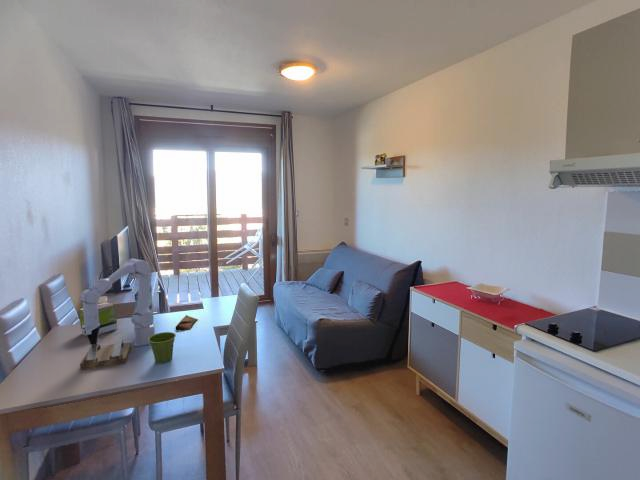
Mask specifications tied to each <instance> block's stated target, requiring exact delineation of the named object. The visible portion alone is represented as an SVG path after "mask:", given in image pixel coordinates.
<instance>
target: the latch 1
mask: <svg viewBox="0 0 640 480" xmlns="http://www.w3.org/2000/svg"><path fill="white" fill-rule="evenodd" d="M99 342H100V337H98V338H97V343H96V344H93V345H91V344H90V346H89V349H88V350H89V353H88V357H87V361H94V360H95V357H96V353H97V348H98V345H99V344H100V343H99Z"/></svg>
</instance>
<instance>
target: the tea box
mask: <svg viewBox="0 0 640 480" xmlns="http://www.w3.org/2000/svg"><path fill="white" fill-rule="evenodd" d="M97 305H98V315H99V323H100V326H99V327H100V330H99V333H98V336H99V335H101V334H105V333H108V332H111V331H114V330H117V329H118V323H117V321H118V320H117V314H116V313H117V312H116V305H115V304H113V303H111V302H107V301H105V302H102V303H101V302H100V303H97ZM78 314H79V321H80V322H79V323H80V331H81V334H82V335H83V336H86V337H87V335H86V334H85V332H84V331H85V328H82V326H83V325H85V324H84V314H83V307H82V308H79V309H78Z"/></svg>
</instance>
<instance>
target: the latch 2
mask: <svg viewBox="0 0 640 480" xmlns="http://www.w3.org/2000/svg"><path fill="white" fill-rule="evenodd" d="M123 339H124V335H123V334H118V335H115V339H114V344H113V345H114V349H113V355H112V358H114V357H120V353H121V346H122V342H123Z"/></svg>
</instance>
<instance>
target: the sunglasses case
mask: <svg viewBox="0 0 640 480" xmlns="http://www.w3.org/2000/svg"><path fill="white" fill-rule="evenodd" d="M198 321H199V319H198V318H195V317H191V316H189V315H188V314H185V316H184V317H183V318H182V319H181V320H180V321H179V322H178V323H177V325H176V326H175V330H176V331H178V330H181V331H191V329H192V327H193V326H194V325H195V323H196V322H198Z"/></svg>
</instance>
